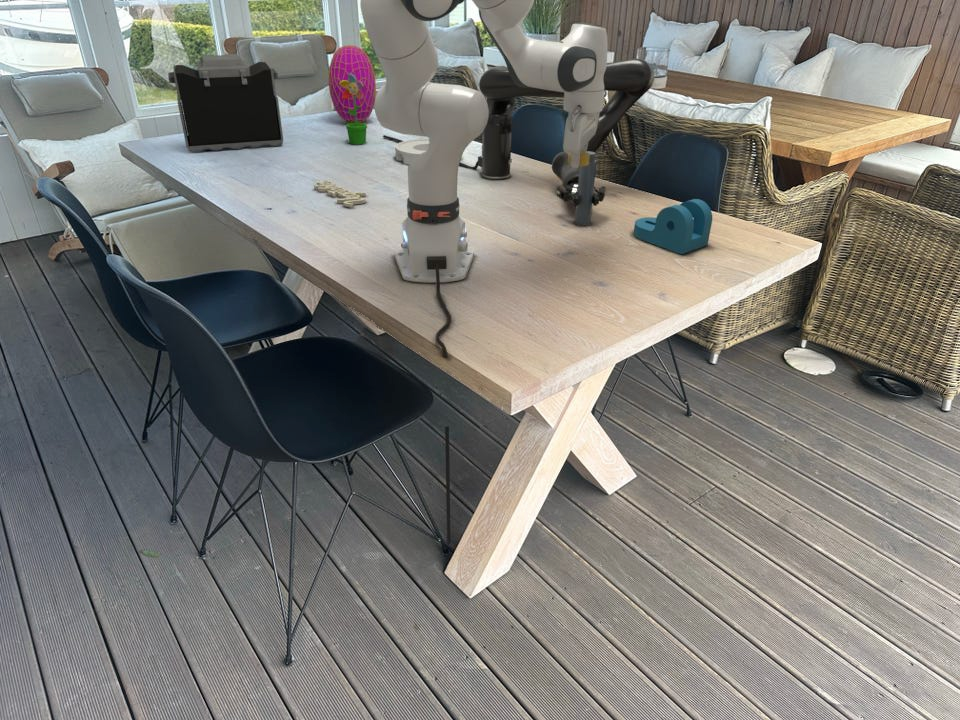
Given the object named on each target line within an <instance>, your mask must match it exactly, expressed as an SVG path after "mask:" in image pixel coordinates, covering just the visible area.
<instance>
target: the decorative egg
mask: <svg viewBox="0 0 960 720" xmlns="http://www.w3.org/2000/svg"><path fill="white" fill-rule="evenodd" d="M348 73H350V74H352V75H354V76H355V78H356V83H357V82H358V81H361V82H362V84H363V89H361V90H360V91H361V92H362V93H363V98H362V100H359V99H358V98H357V97H356V95H355V103H356V106H359V109H358V110H356V116H357V123H364V122H365V121H366V120H368V118H369V117H370V116H371V114H372V112H373V111H374V108H375V107H374V104H375V98H376V95H377V83H376V82H377V81H376V75H375V71H374V68H373V63H372V62H371V60H370V57H369V56H368V54H367V53H366V51H365V50H363V48H361V47H359V46H357V45H353V44H352V45H351V44H348V45H343V46H340V47H338V48H337V49H336V51H334V53H333V56H332V57H331V61H330V63H329V69H328V90H329V96H330V99H331V103H332V105H333V108H334V110H335V111H336V113H337V114H338V116H339V118H341V119H342V120H343V121H344V122H346V123H348V124H349V123H355V115H351V114H349V112H348V111H349V110H354V100H353V95H352V96H351V97H350V98H348V99H341V97H342V94H343V93H344V91H345V90H347V89H346V88H343V87H342V86H341V85H340V84H339V83H340V82H341V81H342V80H346V81H349V78H348Z"/></svg>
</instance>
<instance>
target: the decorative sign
mask: <svg viewBox="0 0 960 720" xmlns="http://www.w3.org/2000/svg"><path fill="white" fill-rule="evenodd" d="M313 188H314V190H318V192H319V193H325V192H326V193H327V195H328V196H332V197H333V198H335V197H339V198H336V202H337V204H343V206H344V207H346V208H351V209H352V208H354V205H361V204H365V203H366V198H365V197H366V191H351V190H348V188H346V187H343V186H340V185H339V184H337V183H335V182H333V181H331V180H328V179H325V180H322V181H320V180H318V181H317V180H316V184H315V185H313Z"/></svg>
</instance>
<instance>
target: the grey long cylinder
mask: <svg viewBox="0 0 960 720" xmlns="http://www.w3.org/2000/svg"><path fill="white" fill-rule="evenodd" d="M586 152H587V153H589V154H590V160H589V165H587V166H580V167H579V179H578V191H577V195H578V197H579V203H578V206H575V215H574V224H575V225H577V226H580V227H581V226H582V227H585V226H590V225H591V222H592V213H593V192H594V186H595V179H596V172H597V171H596V170H597V160H596V155H597V154H596V152H590V151H586Z"/></svg>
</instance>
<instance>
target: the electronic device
mask: <svg viewBox="0 0 960 720" xmlns="http://www.w3.org/2000/svg"><path fill="white" fill-rule="evenodd" d="M172 68H173V69H172V71H171V72H170V71H169V72H168V75H167V79H168V83H169V84H174V85H175V90H176V95H177V96H176V97H177V107H178V112H179V116H180V121H181V127H182V131H183V136H184V142H185V146H186V149H187V151H188V152H192V153H201V152H203V151H205V150H210V151H213V152H217V151H222V150H223V149H231V150H241V149H243V148H246V147H250V148H253V149H257V148H258V149H259V148H261V147H263V146H270V147H280V146H281V145H283V144H284V135H283V128H282V119H281V118H282V117H281V111H280V104H279V98H278V95H277V93H276V92H277V91H276V84H275V80H276V79H278V78H279V77H278V76H279V73H278V72H277V70H275V68H271V67H270V66H269V64H268V63H267V62H266V61H258V62H255V63H254V64H252V65H250V66H248V63H246V61H245V60H243V59H242V58H241V57H240V55H239V54H238V53H225V54H221V55H220V54H218V55H215V54H214V53H213V54H201V56H200V60H198V61H196V68H197V69H196V68H192V67H190V66H187V65H183V64H174V65H173V67H172Z"/></svg>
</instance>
